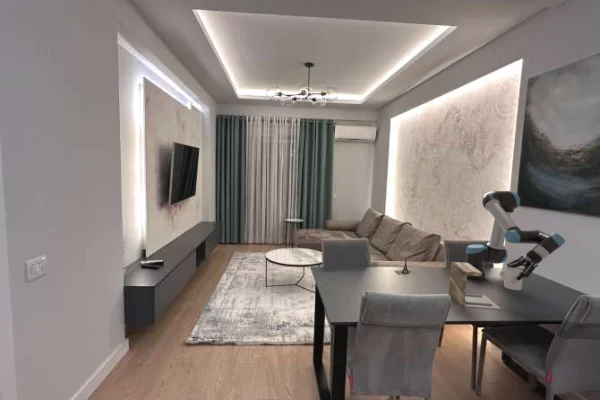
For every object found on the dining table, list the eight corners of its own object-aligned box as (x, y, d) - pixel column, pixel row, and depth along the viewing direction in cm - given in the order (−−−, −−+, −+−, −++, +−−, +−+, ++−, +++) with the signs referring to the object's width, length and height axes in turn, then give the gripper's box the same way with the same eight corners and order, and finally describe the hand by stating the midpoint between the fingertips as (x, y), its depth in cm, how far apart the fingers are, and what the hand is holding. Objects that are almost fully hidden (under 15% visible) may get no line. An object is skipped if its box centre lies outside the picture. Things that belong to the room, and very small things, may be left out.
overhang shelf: (465, 294, 198) (468, 262, 197) (479, 307, 179) (482, 272, 177) (448, 293, 200) (450, 261, 198) (460, 306, 180) (463, 271, 178)
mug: (509, 283, 192) (510, 265, 191) (525, 290, 180) (527, 272, 179) (495, 283, 191) (497, 265, 190) (511, 290, 179) (513, 272, 178)
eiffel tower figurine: (410, 270, 247) (411, 253, 246) (417, 274, 237) (418, 257, 236) (392, 271, 244) (393, 254, 243) (399, 275, 234) (400, 257, 233)
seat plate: (484, 295, 197) (484, 293, 197) (500, 309, 177) (500, 306, 177) (453, 293, 199) (454, 291, 199) (466, 306, 180) (466, 304, 179)
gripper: (555, 265, 170) (521, 291, 173) (529, 253, 194) (500, 276, 197) (545, 255, 170) (512, 281, 173) (520, 244, 194) (491, 267, 197)
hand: (505, 278), depth 185 cm, fingers closed on mug, 12 cm apart
